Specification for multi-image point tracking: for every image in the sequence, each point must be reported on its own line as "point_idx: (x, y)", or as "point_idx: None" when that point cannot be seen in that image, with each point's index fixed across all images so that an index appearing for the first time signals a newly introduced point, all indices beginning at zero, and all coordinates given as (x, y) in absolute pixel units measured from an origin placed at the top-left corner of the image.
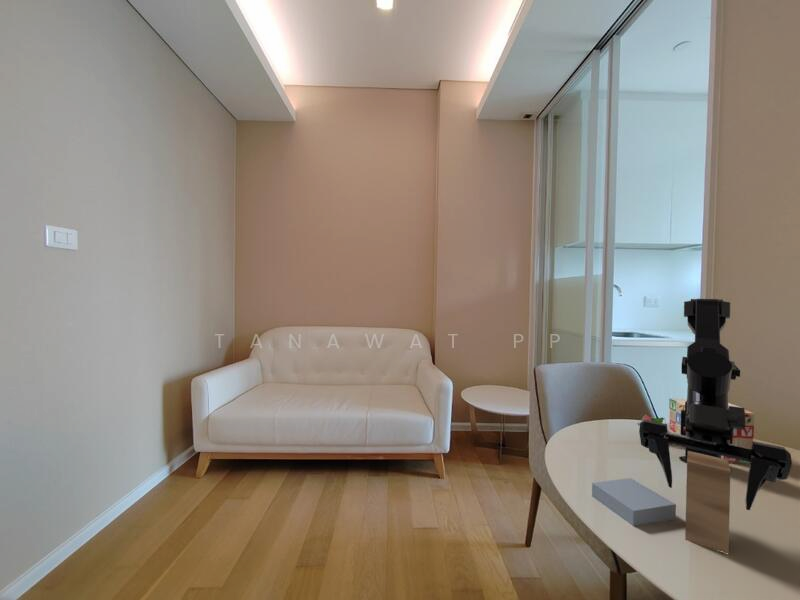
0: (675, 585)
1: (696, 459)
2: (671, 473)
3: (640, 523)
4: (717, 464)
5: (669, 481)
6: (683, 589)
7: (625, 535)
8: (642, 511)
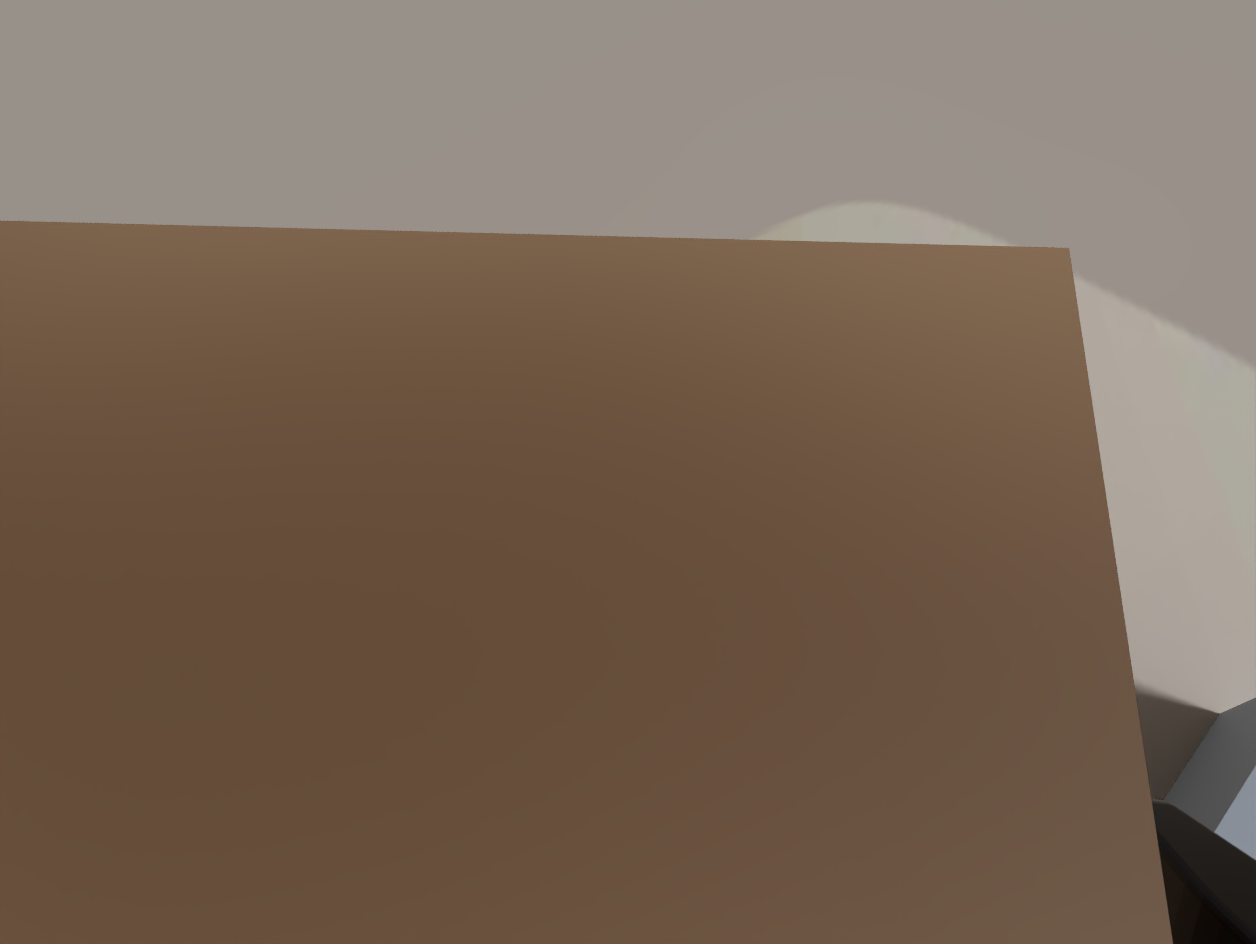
0: (856, 226)
1: (758, 624)
2: (1251, 928)
3: (1181, 784)
4: (86, 565)
5: (1180, 827)
6: (820, 222)
7: (1216, 520)
8: (1235, 776)
